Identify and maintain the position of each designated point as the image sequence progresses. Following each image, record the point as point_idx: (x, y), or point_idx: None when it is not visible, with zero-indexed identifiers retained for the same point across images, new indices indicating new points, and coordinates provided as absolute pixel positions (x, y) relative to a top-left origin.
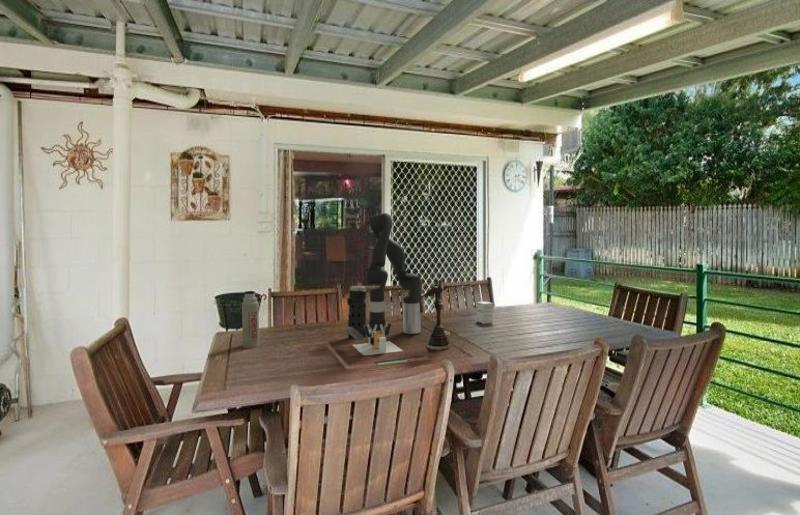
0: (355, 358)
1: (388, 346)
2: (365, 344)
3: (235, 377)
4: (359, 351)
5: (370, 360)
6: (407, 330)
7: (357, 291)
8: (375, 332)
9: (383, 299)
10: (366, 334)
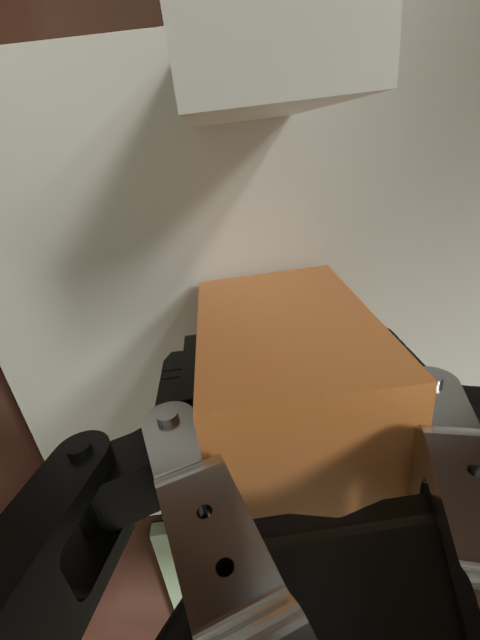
0: (10, 490)
1: (415, 302)
2: (117, 106)
3: None
4: (30, 423)
5: (143, 541)
6: None
7: None
8: (287, 447)
9: None
10: (55, 480)
